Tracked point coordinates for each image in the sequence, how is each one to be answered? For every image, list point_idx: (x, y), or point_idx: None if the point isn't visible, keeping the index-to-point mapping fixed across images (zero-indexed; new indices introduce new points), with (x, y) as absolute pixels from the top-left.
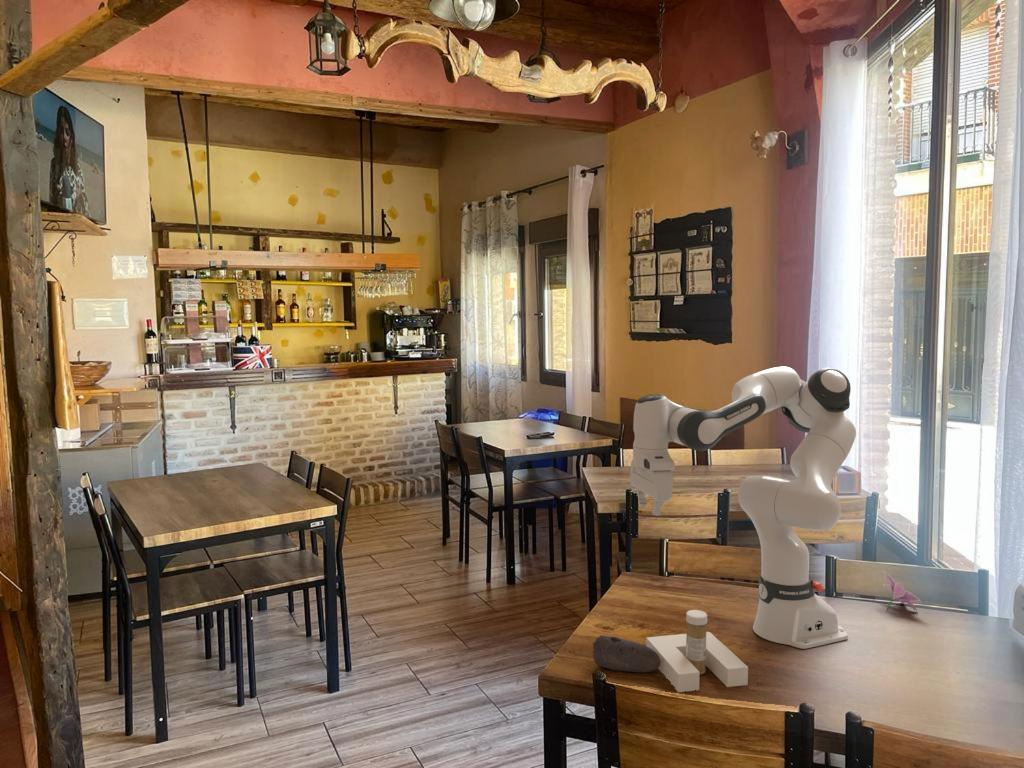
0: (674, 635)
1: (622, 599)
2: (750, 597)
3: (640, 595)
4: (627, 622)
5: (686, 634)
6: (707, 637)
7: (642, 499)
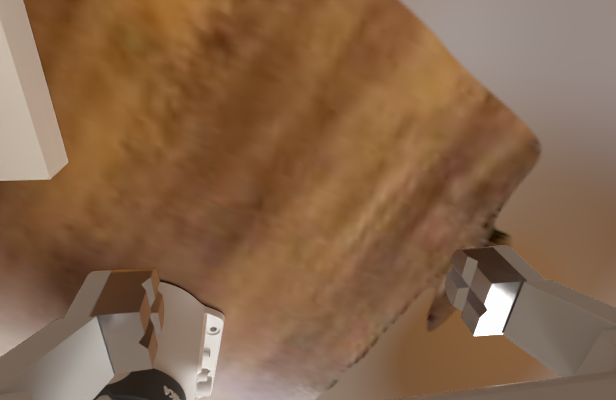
0: (12, 72)
1: (401, 60)
2: (323, 329)
3: (408, 120)
4: (246, 7)
5: (23, 111)
6: (7, 160)
7: (494, 303)
